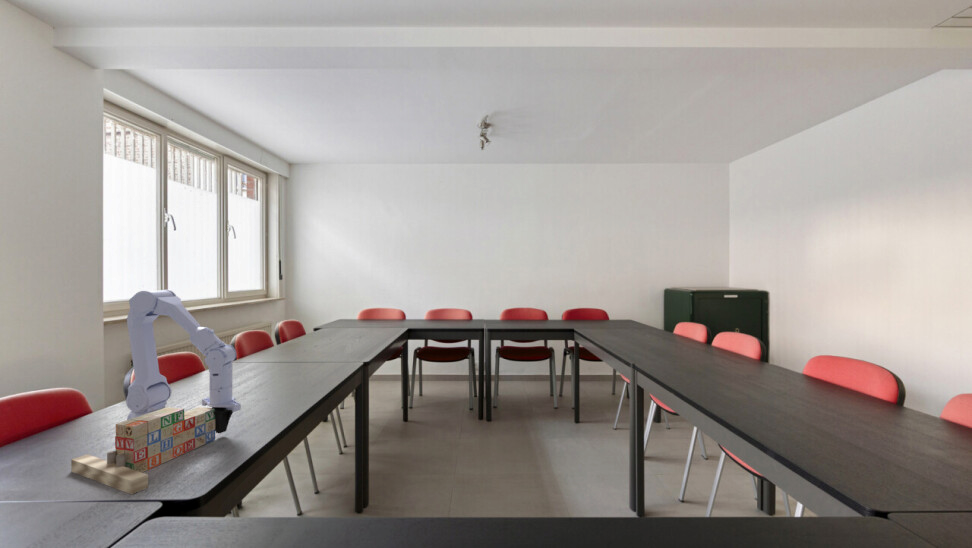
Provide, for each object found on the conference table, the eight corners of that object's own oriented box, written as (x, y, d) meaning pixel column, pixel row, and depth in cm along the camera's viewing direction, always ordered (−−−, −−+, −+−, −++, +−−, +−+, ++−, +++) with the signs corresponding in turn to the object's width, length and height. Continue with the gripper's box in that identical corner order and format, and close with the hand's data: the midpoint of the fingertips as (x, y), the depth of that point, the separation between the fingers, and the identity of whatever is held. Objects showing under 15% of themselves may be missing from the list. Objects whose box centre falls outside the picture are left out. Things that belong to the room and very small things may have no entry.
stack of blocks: (199, 437, 116) (199, 396, 116) (215, 440, 114) (215, 398, 114) (114, 473, 95) (114, 423, 95) (133, 476, 93) (133, 425, 93)
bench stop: (71, 471, 96) (71, 449, 96) (91, 464, 99) (91, 443, 99) (131, 494, 86) (132, 469, 86) (152, 486, 89) (152, 462, 89)
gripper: (250, 385, 118) (250, 430, 117) (218, 380, 123) (218, 423, 123) (227, 392, 111) (227, 439, 111) (194, 386, 116) (194, 431, 116)
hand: (221, 431), depth 117 cm, fingers closed
